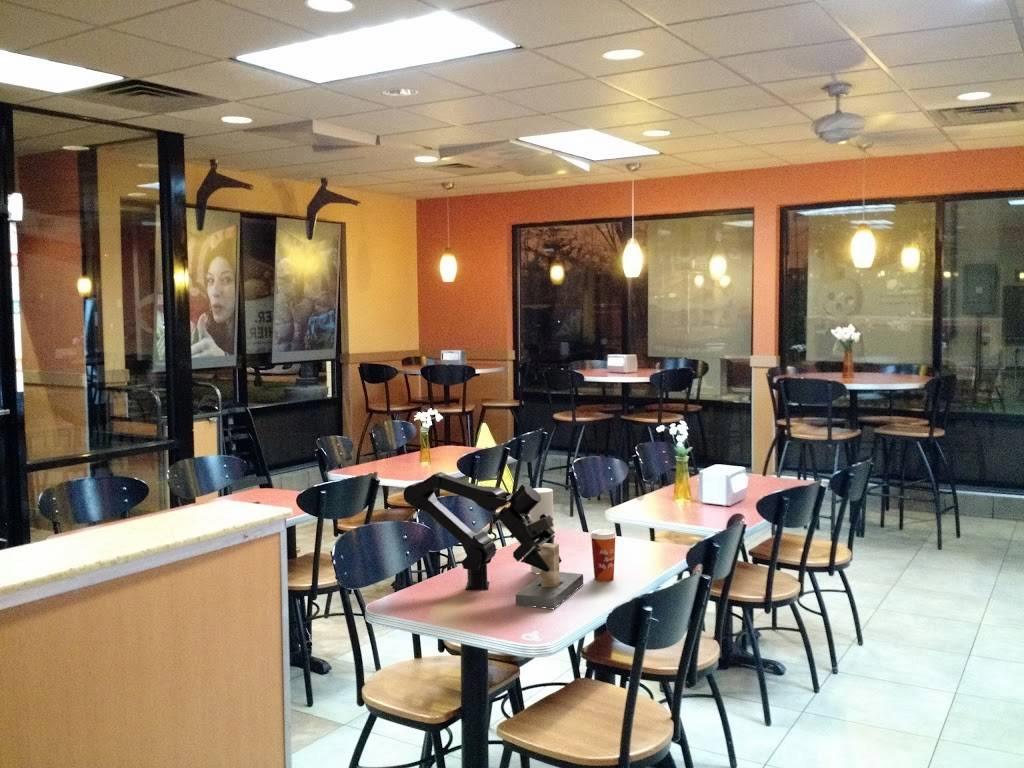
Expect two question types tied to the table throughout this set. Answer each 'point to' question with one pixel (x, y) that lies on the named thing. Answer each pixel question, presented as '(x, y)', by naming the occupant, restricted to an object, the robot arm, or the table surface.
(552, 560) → the maple peg
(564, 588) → the socket plate
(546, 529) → the robot arm
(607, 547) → the paper cup
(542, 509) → the cylindrical container
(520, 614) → the table surface
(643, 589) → the table surface
